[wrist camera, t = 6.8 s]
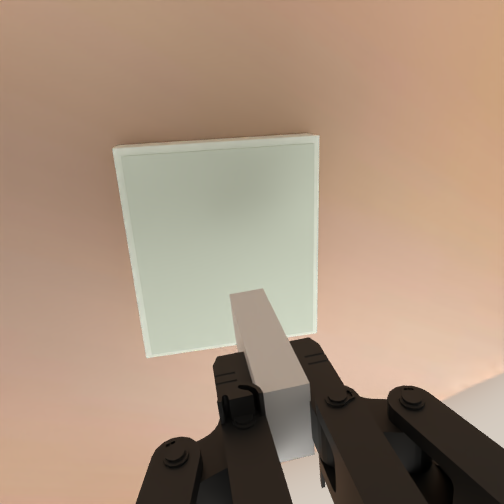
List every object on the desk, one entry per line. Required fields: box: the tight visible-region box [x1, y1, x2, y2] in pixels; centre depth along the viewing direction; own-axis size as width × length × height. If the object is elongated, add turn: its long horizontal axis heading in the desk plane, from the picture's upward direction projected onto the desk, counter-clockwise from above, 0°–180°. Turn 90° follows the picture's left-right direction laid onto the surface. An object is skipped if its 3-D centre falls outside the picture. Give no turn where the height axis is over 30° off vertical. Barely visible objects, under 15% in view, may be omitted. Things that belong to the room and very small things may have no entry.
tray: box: [112, 133, 319, 358], centre depth 31 cm, size 14×16×3 cm
